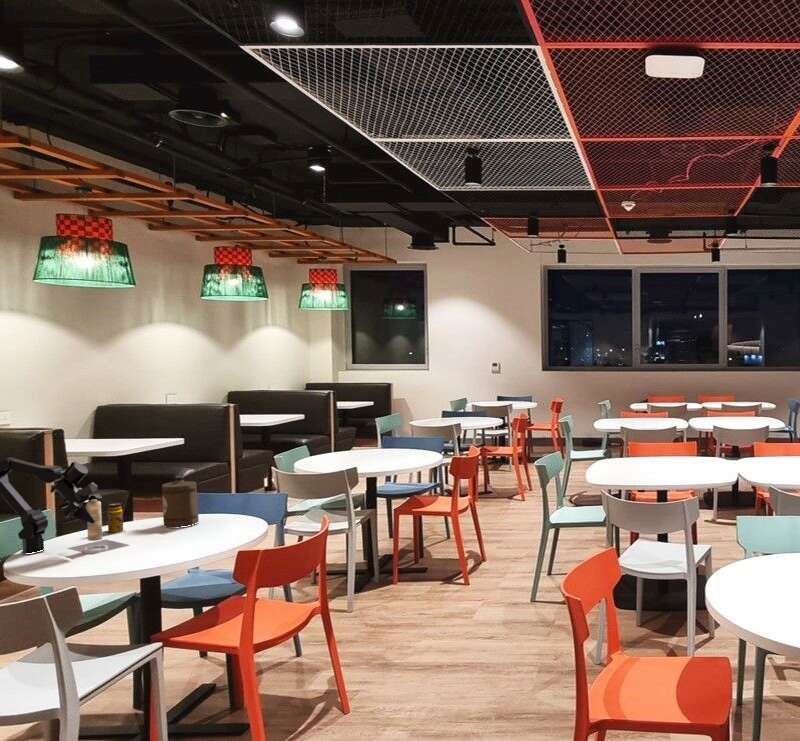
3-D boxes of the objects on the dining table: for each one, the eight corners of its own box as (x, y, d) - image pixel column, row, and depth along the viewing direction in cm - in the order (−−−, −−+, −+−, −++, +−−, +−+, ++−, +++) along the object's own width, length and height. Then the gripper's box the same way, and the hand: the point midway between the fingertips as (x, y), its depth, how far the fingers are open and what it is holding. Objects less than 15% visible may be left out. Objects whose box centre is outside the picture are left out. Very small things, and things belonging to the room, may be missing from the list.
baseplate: (91, 556, 274) (91, 551, 274) (67, 550, 286) (67, 545, 286) (130, 547, 287) (130, 542, 287) (105, 541, 298) (105, 536, 298)
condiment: (126, 532, 314) (124, 504, 314) (105, 535, 310) (103, 506, 309) (122, 529, 320) (120, 501, 320) (101, 532, 316) (100, 504, 315)
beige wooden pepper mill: (90, 541, 277) (88, 501, 277) (86, 539, 281) (84, 500, 281) (104, 539, 280) (102, 499, 280) (99, 536, 284) (98, 498, 284)
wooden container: (170, 521, 333) (168, 472, 332) (203, 520, 332) (201, 471, 332) (158, 529, 318) (156, 478, 318) (192, 528, 317) (190, 477, 317)
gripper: (68, 481, 271) (97, 511, 270) (96, 473, 290) (123, 501, 288) (49, 502, 273) (78, 532, 271) (78, 493, 291) (105, 521, 290)
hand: (97, 521), depth 280 cm, fingers closed on beige wooden pepper mill, 5 cm apart
